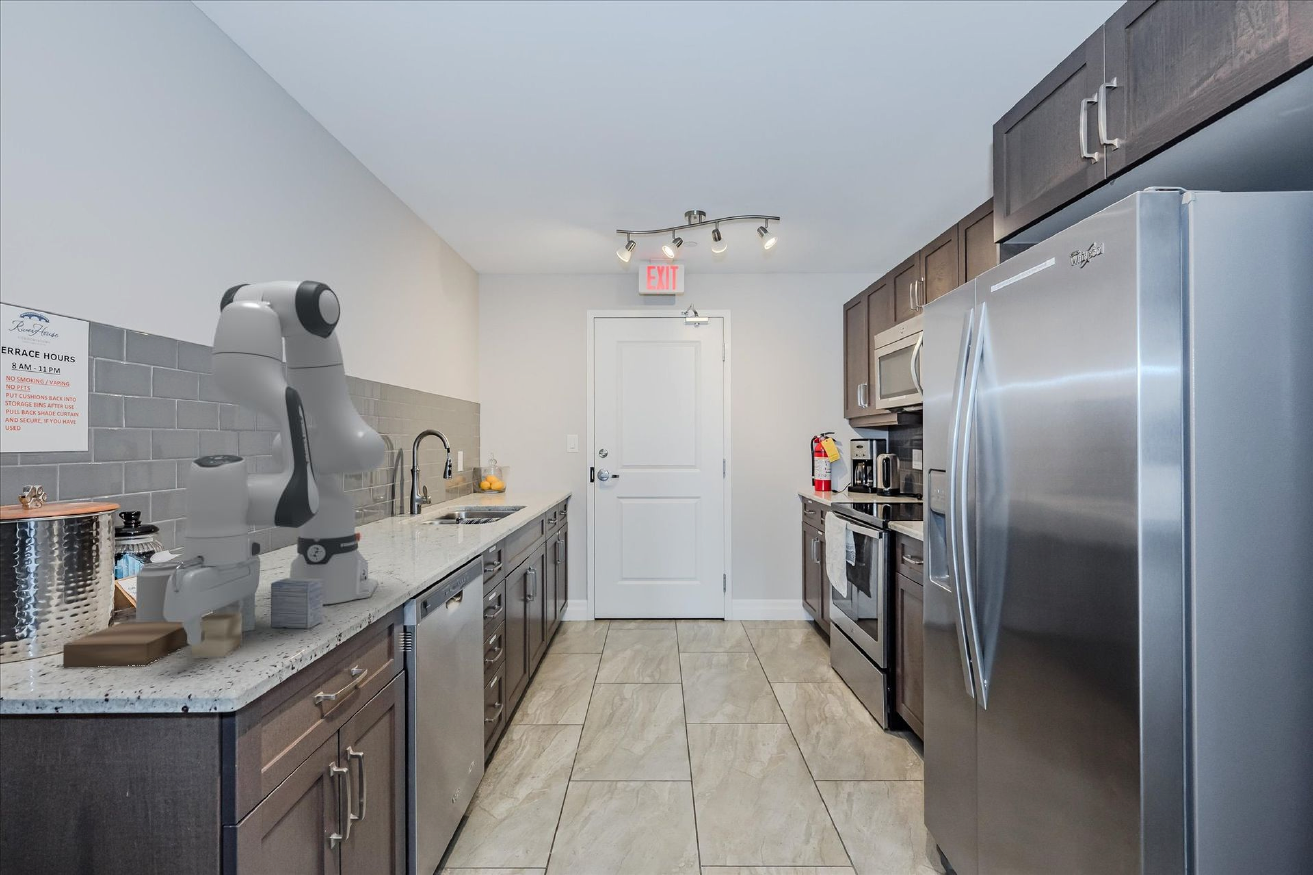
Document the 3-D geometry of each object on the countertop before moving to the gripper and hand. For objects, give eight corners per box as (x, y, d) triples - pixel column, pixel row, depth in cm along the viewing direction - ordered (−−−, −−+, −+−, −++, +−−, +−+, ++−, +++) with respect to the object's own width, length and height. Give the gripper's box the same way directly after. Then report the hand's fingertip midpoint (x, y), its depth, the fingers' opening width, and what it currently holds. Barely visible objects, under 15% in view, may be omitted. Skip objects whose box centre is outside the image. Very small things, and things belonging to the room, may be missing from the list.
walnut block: (121, 645, 108) (122, 622, 108) (195, 644, 109) (195, 621, 109) (63, 670, 96) (63, 645, 96) (146, 668, 97) (146, 643, 97)
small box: (212, 625, 119) (213, 557, 119) (251, 620, 123) (252, 554, 123) (213, 636, 112) (214, 564, 112) (255, 630, 116) (256, 560, 116)
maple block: (210, 648, 106) (210, 613, 106) (241, 647, 107) (241, 612, 107) (191, 658, 101) (192, 621, 101) (223, 657, 102) (224, 620, 102)
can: (162, 632, 114) (164, 567, 114) (124, 631, 114) (125, 566, 115) (195, 621, 121) (196, 560, 122) (159, 619, 122) (160, 559, 122)
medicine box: (323, 622, 121) (324, 578, 121) (308, 629, 117) (309, 583, 117) (285, 621, 122) (286, 577, 122) (269, 628, 118) (270, 582, 118)
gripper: (196, 563, 94) (193, 654, 94) (267, 542, 114) (265, 617, 114) (151, 563, 93) (149, 655, 93) (231, 542, 114) (229, 618, 113)
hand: (214, 634), depth 104 cm, fingers open, 8 cm apart
